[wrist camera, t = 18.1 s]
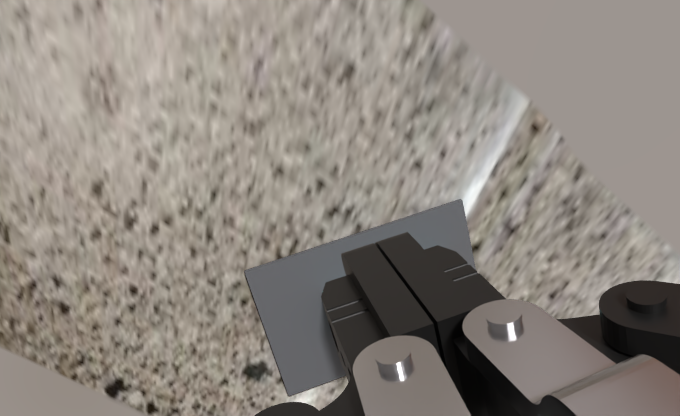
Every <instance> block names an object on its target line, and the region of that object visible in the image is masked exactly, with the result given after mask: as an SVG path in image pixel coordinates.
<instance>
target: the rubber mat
mask: <svg viewBox="0 0 680 416" xmlns="http://www.w3.org/2000/svg"><path fill="white" fill-rule="evenodd" d="M405 232H408V233H409V234H410V235H411V236H412V237H413V238H414V239H415V240H416V241H417V242H418V243H419V244H420V245H421V247H422V248H423V249H424V250H425V249H428V248H431V247H434V246H437V245H439V246H442V247H444V248H447V249H450V250H453V251H456V252H457V253H458V254H459V255H460V256H462V257H463V258H464V259H465V260H466V261H467V262H468V265H471V266H472V267H473V268H474V269H475V263H474V258H473V253H472V248H471V243H470V238H469V232H468V227H467V222H466V217H465V212H464V206H463V201H462V200H461V199H459V200H456V201H453V202H450V203H447V204H444V205H441V206H438V207H435V208H432V209H429V210H426V211H423V212H420V213H417V214H414V215H411V216H408V217H405V218H402V219H399V220H396V221H393V222H390V223H387V224H384V225H381V226H378V227H375V228H372V229H368V230H365V231H362V232H359V233H356V234H353V235H350V236H347V237H344V238H341V239H338V240H335V241H332V242H329V243H326V244H323V245H320V246H317V247H314V248H311V249H308V250H305V251H302V252H299V253H296V254H293V255H290V256H287V257H284V258H281V259H278V260H275V261H272V262H269V263H266V264H263V265H260V266H257V267H254V268H251V269H248V270H245V271H244V272H245V275H246V278H247V281H248V284H249V286H250V289H251V292H252V295H253V298H254V300H255V303H256V306H257V309H258V312H259V314H260V317H261V320H262V323H263V326H264V328H265V331H266V334H267V337H268V340H269V342H270V345H271V348H272V351H273V354H274V356H275V359H276V362H277V365H278V368H279V370H280V373H281V376H282V379H283V382H284V384H285V387H286V390H287V393H288V396H291V395H293V394H296V393H299V392H302V391H304V390H307V389H310V388H313V387H316V386H318V385H321V384H324V383H327V382H330V381H332V380H335V379H338V378H341V377H343V376H346V374H345V371H344V369H343V366H342V364H341V362H340V359H339V357H338V353H337V350H336V347H335V343H334V340H333V336H332V333H331V329H330V326H329V323H328V319H327V316H326V312H325V309H324V306H323V302H322V299H321V295H322V291H323V289H324V286H325V283H326V282H328V281H331V280H334V279H337V278H340V277H343V276H346V274H345V270H344V266H343V262H342V258H341V253H344V252H347V251H350V250H353V249H356V248H359V247H363V246H366V245H369V244H372V243H374V244H375V242H378V241H381V240H384V239H387V238H390V237H393V236H396V235H399V234H402V233H405ZM475 270H476V269H475Z"/></svg>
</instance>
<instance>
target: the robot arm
mask: <svg viewBox="0 0 680 416" xmlns="http://www.w3.org/2000/svg"><path fill="white" fill-rule="evenodd" d="M341 258H342V262H343V266H344V270H345V274H346V276H343V277H340V278H337V279H334V280H331V281H328V282H326V283H325V286H324V289H323V292H322V295H321V299H322V302H323V306H324V309H325V312H326V316H327V319H328V323H329V326H330V329H331V333H332V336H333V340H334V343H335V347H336V350H337V353H338V357H339V359H340V362H341V364H342V366H343V369H344V371H345V374H346V376H347V379H348V381H349V383H348V385H347V387H346V388H345V390H344V391H343V392H342V394H341V395H340V396H339V397H338V398H337V399H335V400H334V401H333V402H332V403H330V404H329V405H328V406H326V407H325V408H323V409H321V410H320V411H318V410H317V409H316V408H315V407H313V406H311V405H309V404H305V403H301V402H288V403H282V404H278V405H274V406H271V407H269V408H267V409H265V410H263V411H261V412H259V413H258V414H256V415H255V416H680V284H674V283H666V282H659V281H632V282H626V283H622V284H619V285H616V286H614V287H612V288H610V289H608V290H607V291H606V292H605V293H604V294H603V295H602V296H601V298H600V300H599V310H600V315H593V316H585V317H578V318H570V319H555V318H554V317H553V316H551V315H550V314H548V313H547V312H546V311H544V310H543V309H542V308H540V307H539V306H537V305H535V304H533V303H531V302H527V301H523V300H515V299H505V298H504V297H503V296H502V295H501V294H500V293H499V292H498V291H497V290H496V289H495V288H494V287H493V286H492V285H491V284H490V283H489V282H488V281H487V280H486V279H485V278H483V277H482V276H481V275H480V274H478V273H477V271H476V270H475V269H474V268H473V267H472V266H471V265H468V262H467V261H466V260H465V259H464V258H463V257H462V256H460V255H459V254H458V253H457V252H456V251H453V250H450V249H447V248H444V247H442V246H439V245H437V246H434V247H431V248H428V249H425V250H424V249H423V248H422V247H421V245H420V244H419V243H418V242H417V241H416V240H415V239H414V238H413V237H412V236H411V235H410V234H409V233H408V232H405V233H402V234H399V235H396V236H393V237H390V238H387V239H384V240H381V241H378V242H375V244H374V243H372V244H369V245H366V246H363V247H359V248H356V249H353V250H350V251H347V252H344V253H341Z"/></svg>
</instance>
